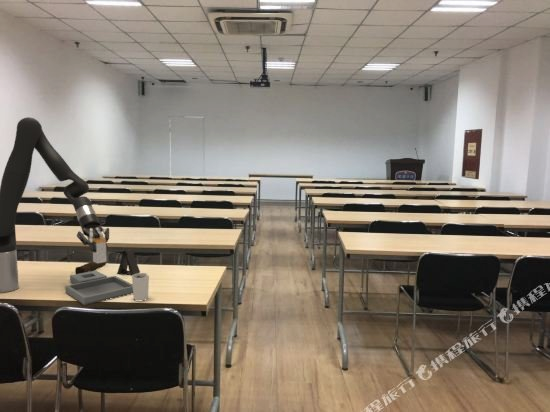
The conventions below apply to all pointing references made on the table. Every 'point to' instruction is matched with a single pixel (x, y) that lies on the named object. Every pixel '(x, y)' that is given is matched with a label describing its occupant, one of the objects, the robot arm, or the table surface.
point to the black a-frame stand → (128, 263)
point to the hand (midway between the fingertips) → (100, 250)
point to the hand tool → (88, 267)
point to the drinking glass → (140, 286)
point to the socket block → (86, 277)
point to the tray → (99, 289)
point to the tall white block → (99, 250)
